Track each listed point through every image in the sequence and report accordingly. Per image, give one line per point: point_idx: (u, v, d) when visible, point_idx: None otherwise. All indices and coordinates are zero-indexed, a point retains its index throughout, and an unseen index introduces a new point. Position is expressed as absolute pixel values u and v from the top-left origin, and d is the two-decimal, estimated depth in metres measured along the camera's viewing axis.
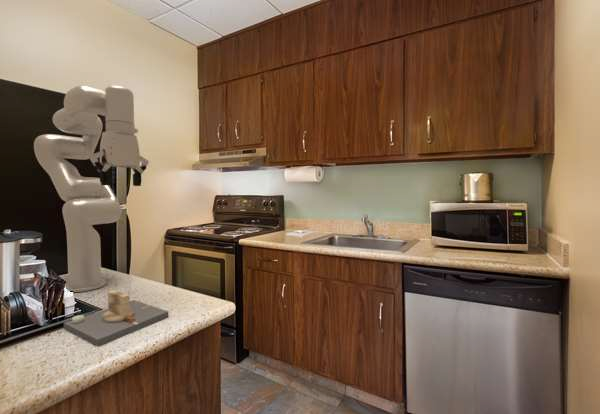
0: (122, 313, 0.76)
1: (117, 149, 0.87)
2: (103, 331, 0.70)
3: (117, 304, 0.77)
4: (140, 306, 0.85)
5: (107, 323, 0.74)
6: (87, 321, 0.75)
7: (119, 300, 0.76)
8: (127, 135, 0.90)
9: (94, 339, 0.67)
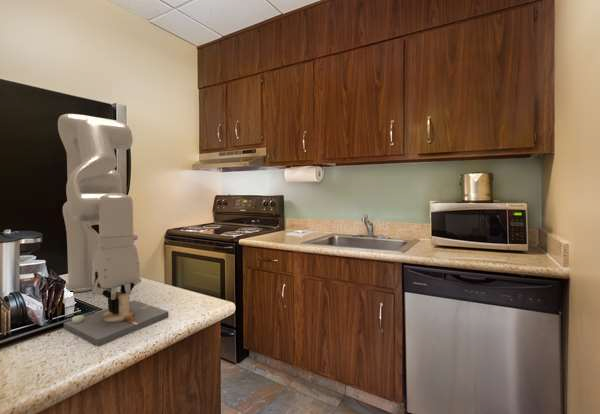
0: (122, 313, 0.76)
1: (113, 270, 0.74)
2: (103, 331, 0.70)
3: None
4: (140, 306, 0.85)
5: (107, 323, 0.74)
6: (87, 321, 0.75)
7: (119, 300, 0.76)
8: (125, 250, 0.76)
9: (94, 339, 0.67)
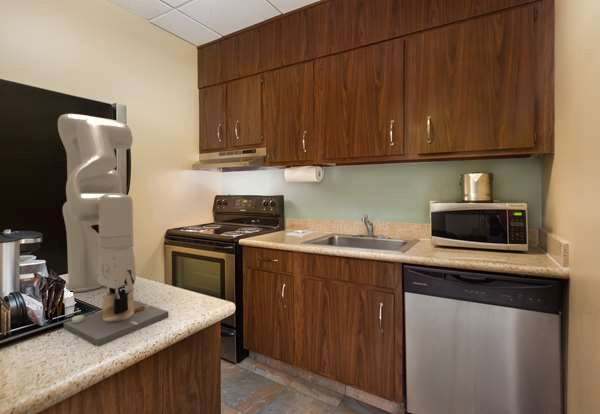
0: (131, 307, 0.80)
1: None
2: (103, 331, 0.70)
3: None
4: None
5: (107, 323, 0.74)
6: (87, 321, 0.75)
7: None
8: None
9: (94, 339, 0.67)
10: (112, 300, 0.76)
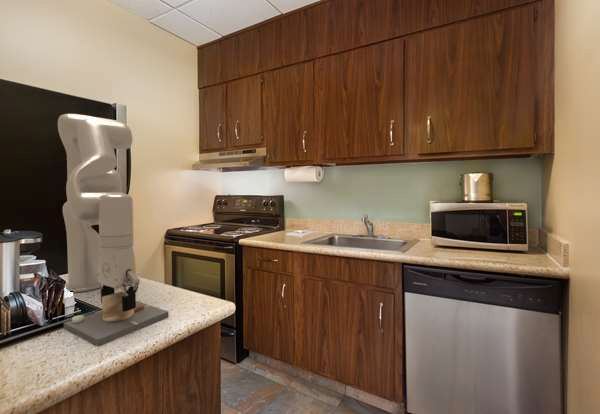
0: None
1: None
2: (103, 331, 0.70)
3: None
4: None
5: (107, 323, 0.74)
6: (87, 321, 0.75)
7: None
8: None
9: (94, 339, 0.67)
10: (112, 300, 0.76)
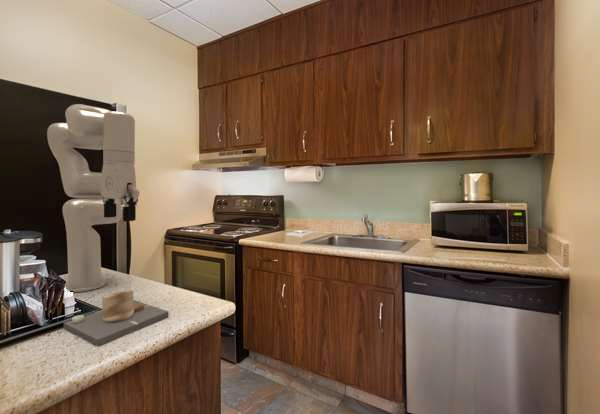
0: (131, 307, 0.80)
1: None
2: (103, 331, 0.70)
3: (123, 302, 0.78)
4: None
5: (107, 323, 0.74)
6: (87, 321, 0.75)
7: (127, 296, 0.79)
8: None
9: (94, 339, 0.67)
10: (112, 300, 0.76)
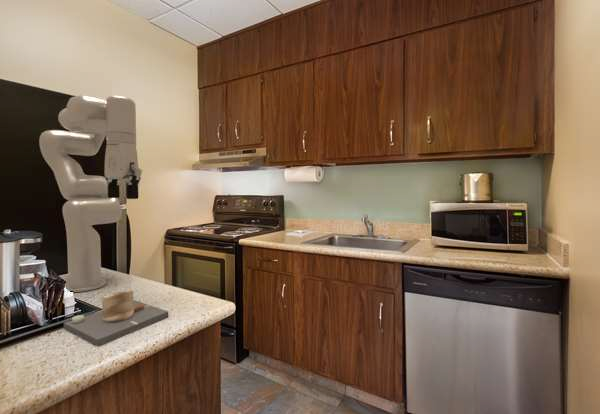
0: (131, 307, 0.80)
1: None
2: (103, 331, 0.70)
3: (123, 302, 0.78)
4: None
5: (107, 323, 0.74)
6: (87, 321, 0.75)
7: (127, 296, 0.79)
8: None
9: (94, 339, 0.67)
10: (112, 300, 0.76)
